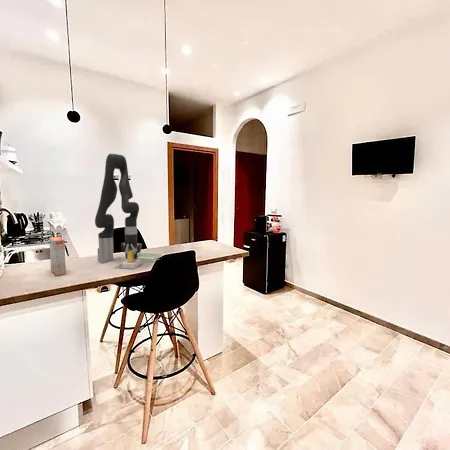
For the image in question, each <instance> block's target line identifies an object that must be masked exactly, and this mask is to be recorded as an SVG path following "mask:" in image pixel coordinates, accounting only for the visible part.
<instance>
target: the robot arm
mask: <svg viewBox="0 0 450 450" xmlns="http://www.w3.org/2000/svg"><path fill="white" fill-rule="evenodd" d="M115 170H119V173H120V180H119V183H118V185H117V184H116V180H115V177H114V175H115ZM102 183H103V184H102V188H101V194H100V199H99V205H98V207H97V212H96V215H95V219H94V225H95V226H96V228H97V229H103V230H102V231H101V232H98V234H97V235H98V236H97V237H98V248H97V250H96V251H97V262H98V263H102V264H105V263H106V264H107V263H109V262H111V261H112V262H113V261H114V260H115V259H114V232H115V219H114V216H113V215H112V214H111V213H110V214H109V213H107V211H108V209H109V208H110V207H111V205H112V204H113V203H114V202H115V201H116V198H117V194H118V190H119V193H120V197H121V201H120V202H121V210H122V212H123V213H125V214H129V216H127V217H125V219H124V242H121V243H120V247H121V252H122V253H125V258H126V259H127V252H128V251H130V250H133V251H134V253H135V254H134V259H137V253H139V252H140V253H141V250H142V246H143V243H139V242H138V227H137V225H138V224H137V223H138V222H137V220H138V215H139V213H140V206H139V204H138V203H137V202H135V201H130V200H131V199H133V197H134V196H133V195H134V194H133V191H132V188H131V185H130V180H129V171H128V163H127V159H126V157H125V155H122V154H119V153H118V154H117V153H109V154H108V155H107V156H106V159H105V168H104V178H103V182H102ZM126 259H125V260H126Z"/></svg>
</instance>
